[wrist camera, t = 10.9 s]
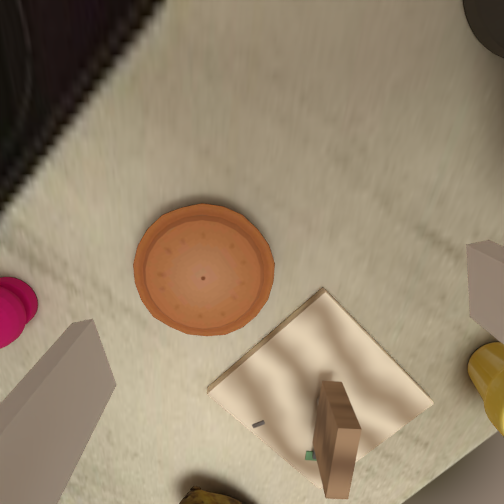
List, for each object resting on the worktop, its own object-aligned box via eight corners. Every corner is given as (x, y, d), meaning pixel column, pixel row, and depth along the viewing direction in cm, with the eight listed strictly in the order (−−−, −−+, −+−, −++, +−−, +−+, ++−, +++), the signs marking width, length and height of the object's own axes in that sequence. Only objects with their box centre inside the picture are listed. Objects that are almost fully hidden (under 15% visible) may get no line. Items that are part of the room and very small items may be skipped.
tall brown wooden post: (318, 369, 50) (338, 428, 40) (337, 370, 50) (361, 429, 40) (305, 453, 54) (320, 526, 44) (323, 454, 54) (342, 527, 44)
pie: (145, 189, 45) (134, 196, 40) (281, 208, 46) (286, 217, 41) (136, 314, 49) (125, 334, 44) (260, 329, 50) (263, 349, 46)
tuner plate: (323, 287, 49) (325, 292, 47) (429, 395, 54) (435, 404, 52) (207, 387, 52) (206, 395, 51) (317, 480, 57) (319, 490, 56)
